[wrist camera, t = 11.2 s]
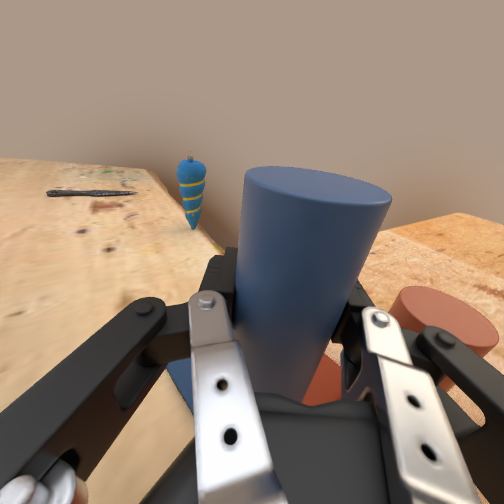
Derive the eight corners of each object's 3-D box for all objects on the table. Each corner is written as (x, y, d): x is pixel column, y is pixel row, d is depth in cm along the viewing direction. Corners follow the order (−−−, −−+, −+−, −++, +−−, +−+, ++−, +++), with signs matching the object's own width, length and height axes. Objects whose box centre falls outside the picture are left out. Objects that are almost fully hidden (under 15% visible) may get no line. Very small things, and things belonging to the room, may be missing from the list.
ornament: (208, 225, 48) (208, 151, 40) (203, 235, 43) (202, 154, 36) (184, 223, 48) (180, 148, 40) (177, 233, 43) (171, 151, 36)
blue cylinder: (210, 382, 13) (215, 167, 7) (262, 342, 15) (300, 164, 9) (262, 458, 10) (350, 215, 4) (314, 393, 13) (413, 192, 7)
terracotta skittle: (327, 412, 18) (389, 305, 12) (351, 378, 21) (411, 277, 15) (382, 468, 15) (498, 365, 9) (401, 420, 18) (500, 317, 12)
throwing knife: (50, 191, 55) (49, 189, 55) (138, 191, 63) (138, 189, 62) (44, 197, 52) (43, 194, 51) (138, 195, 59) (137, 193, 59)
